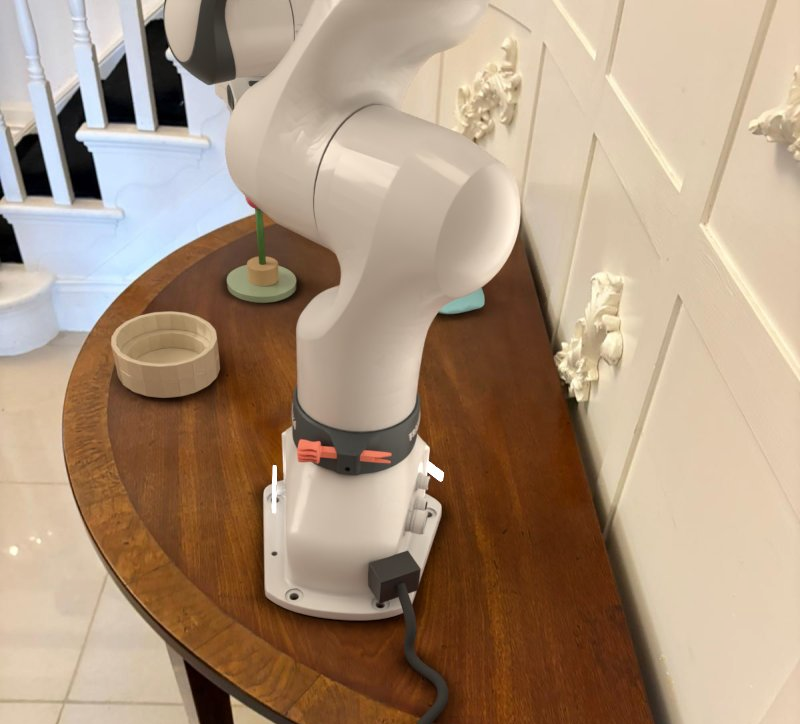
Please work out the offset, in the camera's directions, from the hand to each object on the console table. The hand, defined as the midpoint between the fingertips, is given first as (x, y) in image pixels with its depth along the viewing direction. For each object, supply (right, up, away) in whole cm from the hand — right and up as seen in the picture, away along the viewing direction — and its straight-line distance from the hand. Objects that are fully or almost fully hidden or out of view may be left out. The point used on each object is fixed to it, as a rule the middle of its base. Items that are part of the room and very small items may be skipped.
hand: (257, 193), depth 105 cm
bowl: (-9, -26, -8) cm, 28 cm away
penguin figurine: (+25, -9, +13) cm, 30 cm away
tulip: (-1, -9, +9) cm, 12 cm away
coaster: (-1, -9, +9) cm, 13 cm away
